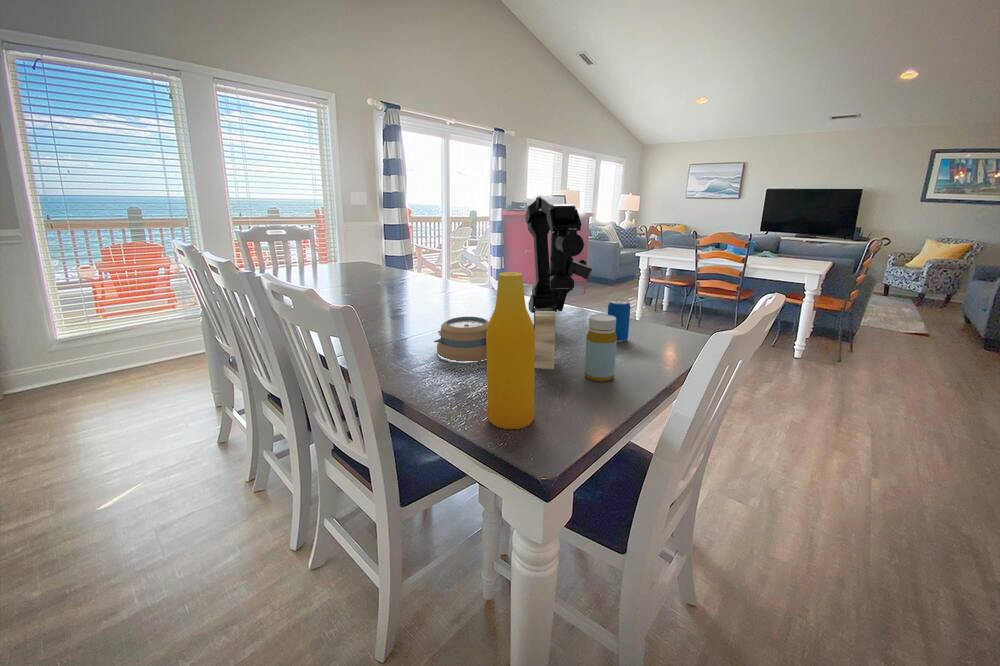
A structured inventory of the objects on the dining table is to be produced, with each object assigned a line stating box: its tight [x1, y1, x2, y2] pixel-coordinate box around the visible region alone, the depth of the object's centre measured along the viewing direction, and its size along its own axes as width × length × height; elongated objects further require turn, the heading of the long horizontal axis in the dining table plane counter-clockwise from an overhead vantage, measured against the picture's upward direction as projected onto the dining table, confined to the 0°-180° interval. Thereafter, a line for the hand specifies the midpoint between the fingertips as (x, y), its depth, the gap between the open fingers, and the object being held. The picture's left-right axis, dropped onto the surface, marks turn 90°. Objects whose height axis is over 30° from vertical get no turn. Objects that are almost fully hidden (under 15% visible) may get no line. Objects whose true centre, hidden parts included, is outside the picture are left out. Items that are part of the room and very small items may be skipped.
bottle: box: [584, 313, 618, 383], centre depth 106 cm, size 7×7×15 cm
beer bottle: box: [486, 271, 536, 430], centre depth 84 cm, size 9×9×29 cm
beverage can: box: [607, 299, 631, 343], centre depth 134 cm, size 6×6×12 cm
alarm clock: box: [433, 316, 490, 361], centre depth 125 cm, size 17×9×23 cm
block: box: [535, 311, 557, 370], centre depth 114 cm, size 5×5×14 cm
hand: (559, 307), depth 126 cm, fingers open, 9 cm apart
